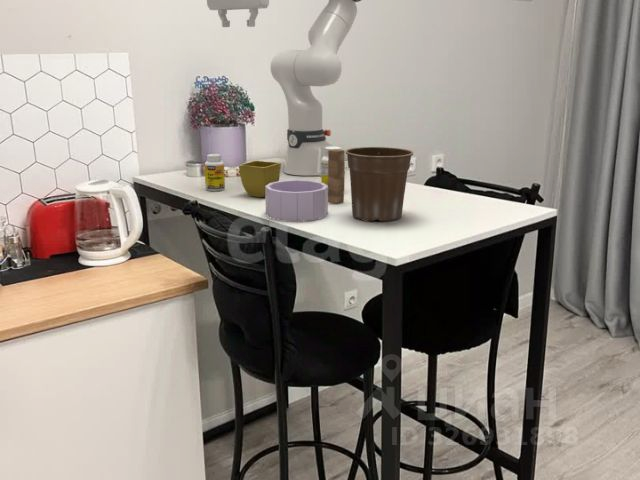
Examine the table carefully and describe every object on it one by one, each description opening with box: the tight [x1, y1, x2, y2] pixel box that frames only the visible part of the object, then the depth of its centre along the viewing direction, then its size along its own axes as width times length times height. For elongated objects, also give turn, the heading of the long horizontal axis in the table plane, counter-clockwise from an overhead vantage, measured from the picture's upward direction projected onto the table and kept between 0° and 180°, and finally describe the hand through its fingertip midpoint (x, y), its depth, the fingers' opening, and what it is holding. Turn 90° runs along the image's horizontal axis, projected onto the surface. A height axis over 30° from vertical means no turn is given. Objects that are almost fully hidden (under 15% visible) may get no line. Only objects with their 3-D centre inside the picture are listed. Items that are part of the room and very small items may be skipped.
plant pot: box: [345, 146, 414, 222], centre depth 157 cm, size 16×16×16 cm
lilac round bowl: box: [264, 179, 329, 222], centre depth 160 cm, size 15×15×7 cm
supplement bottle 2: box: [320, 146, 346, 188], centre depth 183 cm, size 7×7×13 cm
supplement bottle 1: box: [204, 153, 226, 192], centre depth 186 cm, size 6×6×10 cm
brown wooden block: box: [328, 149, 346, 205], centre depth 171 cm, size 3×3×14 cm
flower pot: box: [238, 160, 282, 198], centre depth 180 cm, size 9×9×9 cm
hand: (238, 27), depth 178 cm, fingers open, 8 cm apart
